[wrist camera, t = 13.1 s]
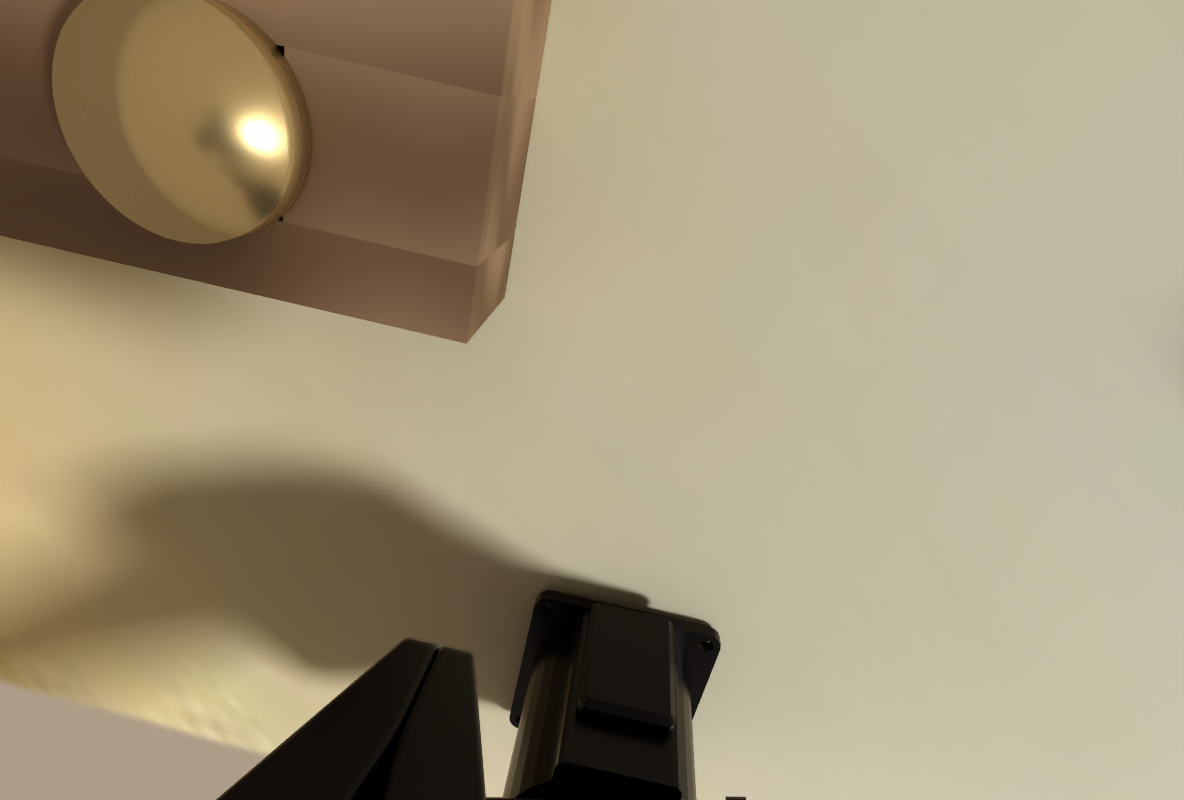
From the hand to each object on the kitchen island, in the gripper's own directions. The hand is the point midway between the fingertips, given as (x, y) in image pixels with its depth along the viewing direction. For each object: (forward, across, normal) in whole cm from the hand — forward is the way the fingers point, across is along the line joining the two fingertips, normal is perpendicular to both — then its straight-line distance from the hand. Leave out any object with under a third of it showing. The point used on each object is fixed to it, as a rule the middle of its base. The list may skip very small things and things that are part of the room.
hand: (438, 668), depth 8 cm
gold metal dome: (+12, +8, -4) cm, 15 cm away
